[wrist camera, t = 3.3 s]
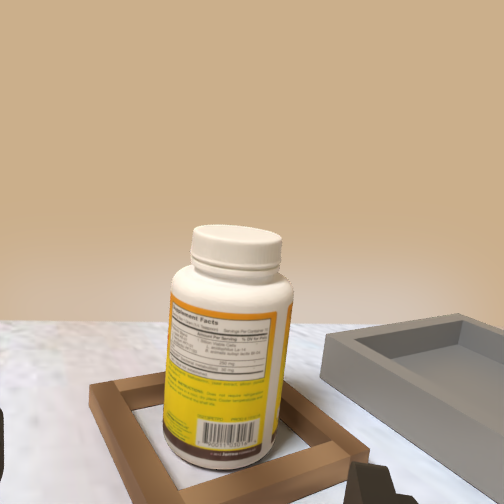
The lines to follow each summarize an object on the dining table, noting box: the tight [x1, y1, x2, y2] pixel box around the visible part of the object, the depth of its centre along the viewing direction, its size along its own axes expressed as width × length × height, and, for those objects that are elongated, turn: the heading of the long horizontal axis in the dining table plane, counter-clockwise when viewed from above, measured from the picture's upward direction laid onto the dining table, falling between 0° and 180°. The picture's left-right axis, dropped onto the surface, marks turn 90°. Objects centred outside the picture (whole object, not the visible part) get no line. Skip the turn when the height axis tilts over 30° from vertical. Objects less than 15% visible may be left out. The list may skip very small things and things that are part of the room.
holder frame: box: [89, 372, 370, 504], centre depth 22 cm, size 10×10×1 cm
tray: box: [320, 313, 504, 504], centre depth 27 cm, size 14×14×3 cm
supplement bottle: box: [163, 225, 294, 469], centre depth 21 cm, size 6×6×10 cm
